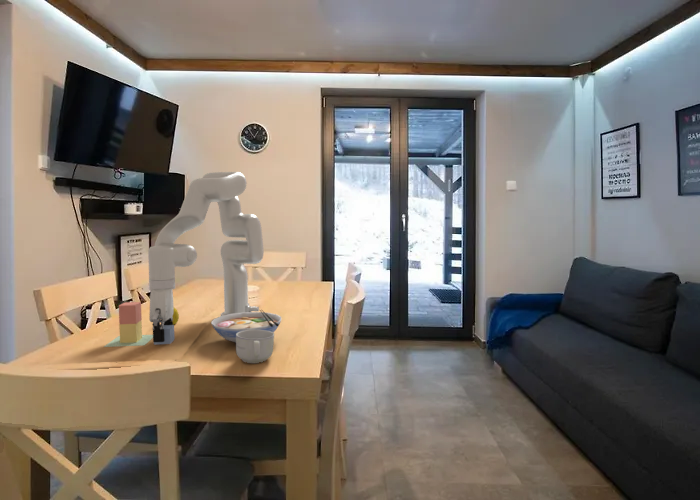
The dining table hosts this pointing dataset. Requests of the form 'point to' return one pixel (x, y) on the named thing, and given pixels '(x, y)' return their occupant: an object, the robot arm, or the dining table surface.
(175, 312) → the lemon
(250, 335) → the teacup
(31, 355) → the dining table surface
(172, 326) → the block slate
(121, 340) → the block ochre
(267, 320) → the ramen bowl
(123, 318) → the block brick
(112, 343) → the baseplate
